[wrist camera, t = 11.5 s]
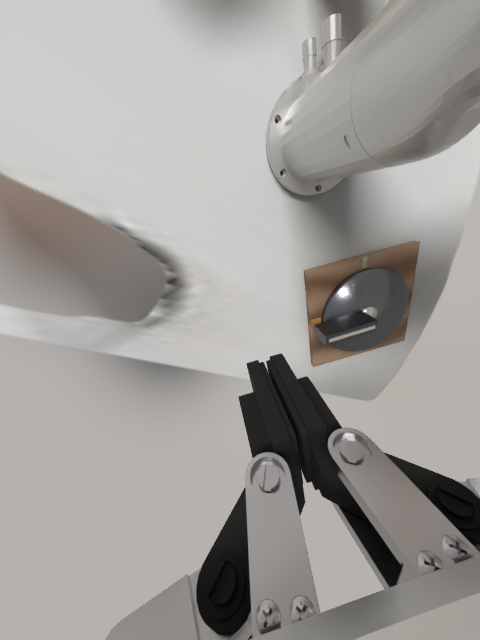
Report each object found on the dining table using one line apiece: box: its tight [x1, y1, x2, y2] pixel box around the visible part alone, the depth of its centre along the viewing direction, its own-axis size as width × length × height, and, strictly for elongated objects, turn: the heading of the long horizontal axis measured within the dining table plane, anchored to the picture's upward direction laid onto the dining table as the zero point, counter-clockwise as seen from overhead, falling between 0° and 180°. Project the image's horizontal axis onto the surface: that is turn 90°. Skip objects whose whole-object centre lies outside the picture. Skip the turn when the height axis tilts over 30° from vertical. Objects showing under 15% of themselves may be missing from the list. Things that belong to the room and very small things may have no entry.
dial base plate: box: [304, 241, 420, 367], centre depth 42 cm, size 20×20×1 cm
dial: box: [314, 268, 408, 351], centre depth 40 cm, size 18×16×5 cm
